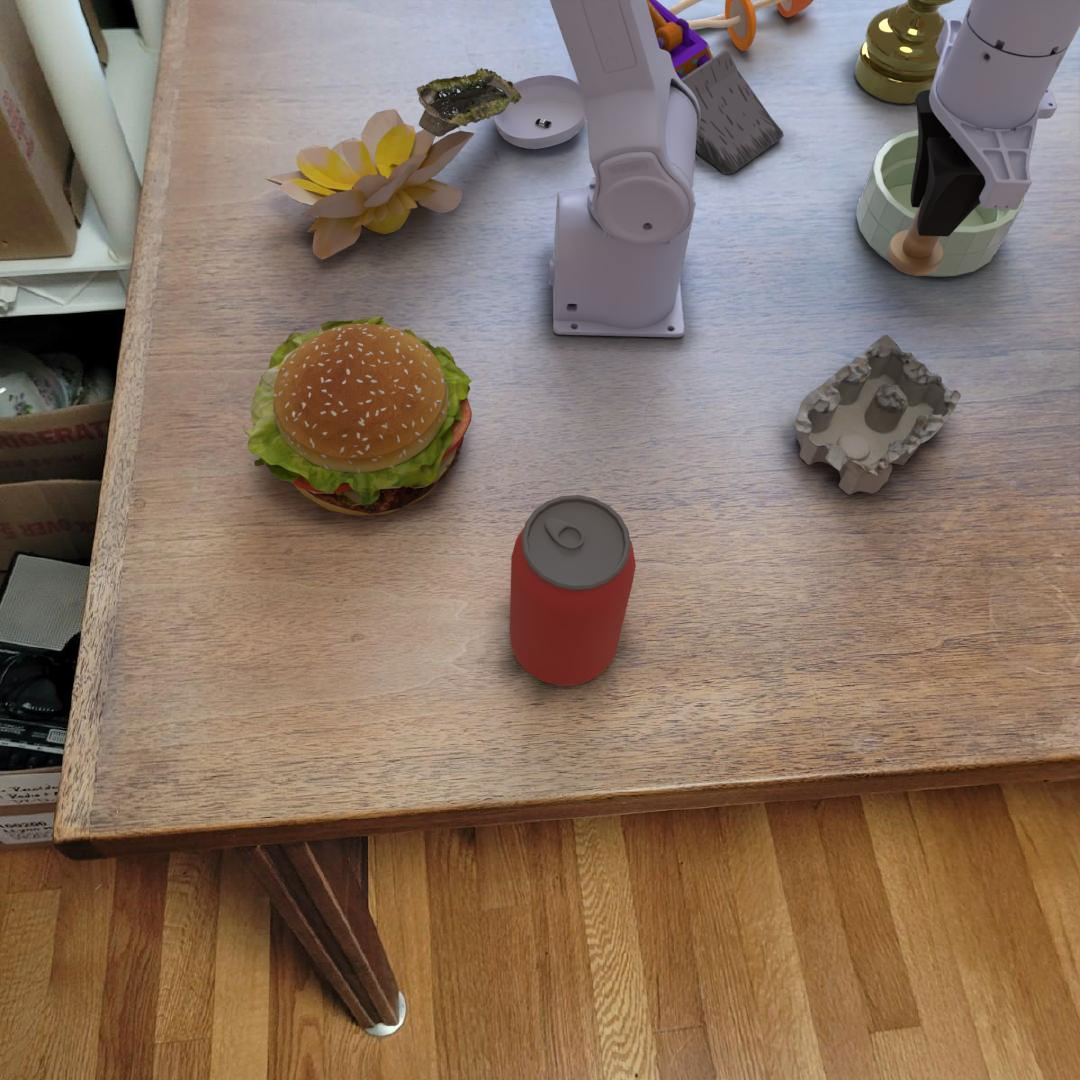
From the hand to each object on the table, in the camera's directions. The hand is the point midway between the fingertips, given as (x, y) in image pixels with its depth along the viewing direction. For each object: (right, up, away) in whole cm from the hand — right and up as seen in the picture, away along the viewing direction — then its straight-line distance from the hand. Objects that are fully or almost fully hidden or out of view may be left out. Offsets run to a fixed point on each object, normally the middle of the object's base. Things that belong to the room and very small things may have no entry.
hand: (929, 218), depth 68 cm
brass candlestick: (+6, +20, +24) cm, 31 cm away
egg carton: (-3, -14, +4) cm, 15 cm away
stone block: (-28, +12, +10) cm, 32 cm away
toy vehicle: (-15, +17, +22) cm, 31 cm away
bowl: (+5, +4, +14) cm, 16 cm away
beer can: (-24, -27, -4) cm, 36 cm away
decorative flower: (-38, +5, +13) cm, 40 cm away
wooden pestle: (0, -2, +3) cm, 3 cm away
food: (-37, -15, +2) cm, 40 cm away
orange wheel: (-14, +25, +23) cm, 37 cm away
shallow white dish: (-25, +13, +19) cm, 34 cm away
